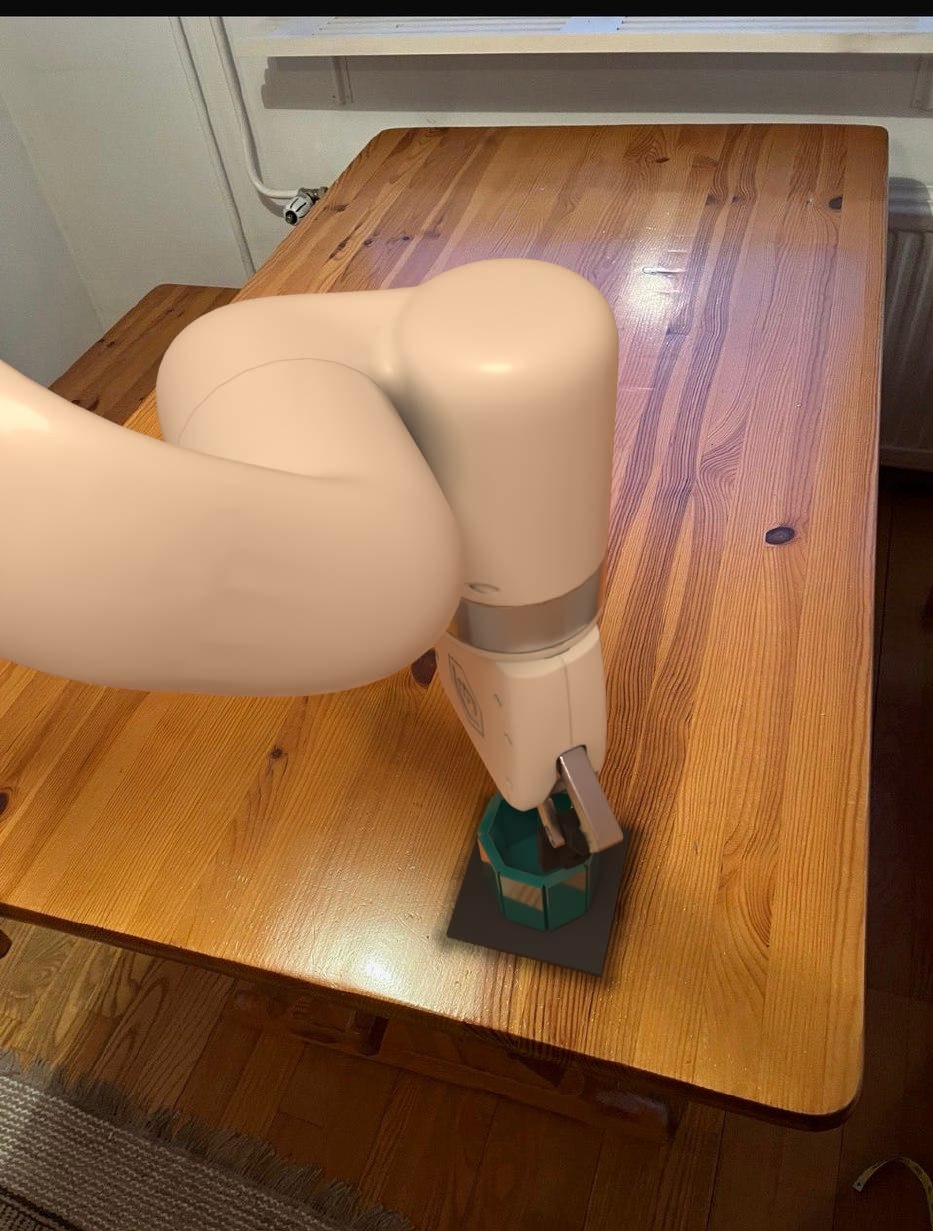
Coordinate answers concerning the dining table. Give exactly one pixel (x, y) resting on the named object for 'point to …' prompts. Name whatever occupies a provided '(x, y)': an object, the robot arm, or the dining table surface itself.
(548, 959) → the mat
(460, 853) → the dining table surface
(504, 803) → the green octagonal cup
